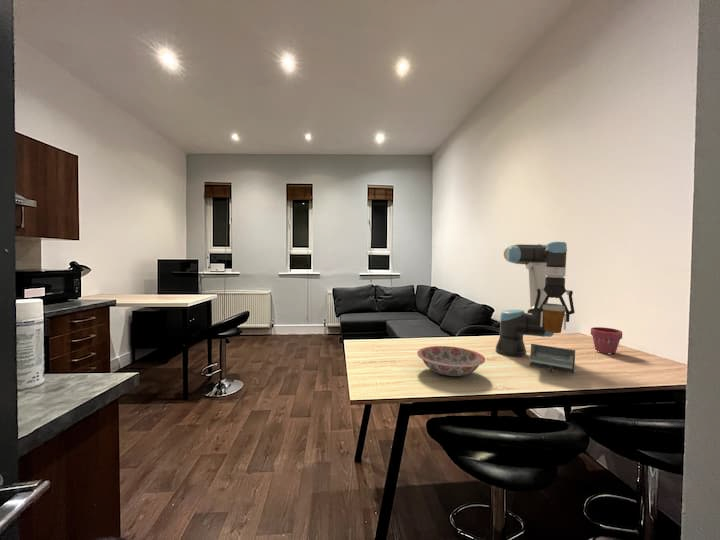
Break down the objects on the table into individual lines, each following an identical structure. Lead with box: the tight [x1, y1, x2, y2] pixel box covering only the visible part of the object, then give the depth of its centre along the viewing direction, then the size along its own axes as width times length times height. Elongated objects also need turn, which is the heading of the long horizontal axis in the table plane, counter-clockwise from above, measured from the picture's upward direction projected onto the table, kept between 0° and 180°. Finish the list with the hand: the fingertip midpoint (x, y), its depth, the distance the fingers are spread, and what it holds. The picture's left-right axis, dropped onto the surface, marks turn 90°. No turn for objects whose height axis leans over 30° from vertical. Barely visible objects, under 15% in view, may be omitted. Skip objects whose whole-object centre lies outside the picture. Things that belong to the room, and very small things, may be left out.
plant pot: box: [590, 326, 623, 354], centre depth 185 cm, size 14×14×13 cm
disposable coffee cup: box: [542, 303, 566, 334], centre depth 147 cm, size 10×10×12 cm
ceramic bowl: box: [416, 345, 486, 377], centre depth 148 cm, size 29×29×8 cm
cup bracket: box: [529, 343, 576, 374], centre depth 151 cm, size 18×20×10 cm
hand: (552, 327), depth 148 cm, fingers closed on disposable coffee cup, 8 cm apart
